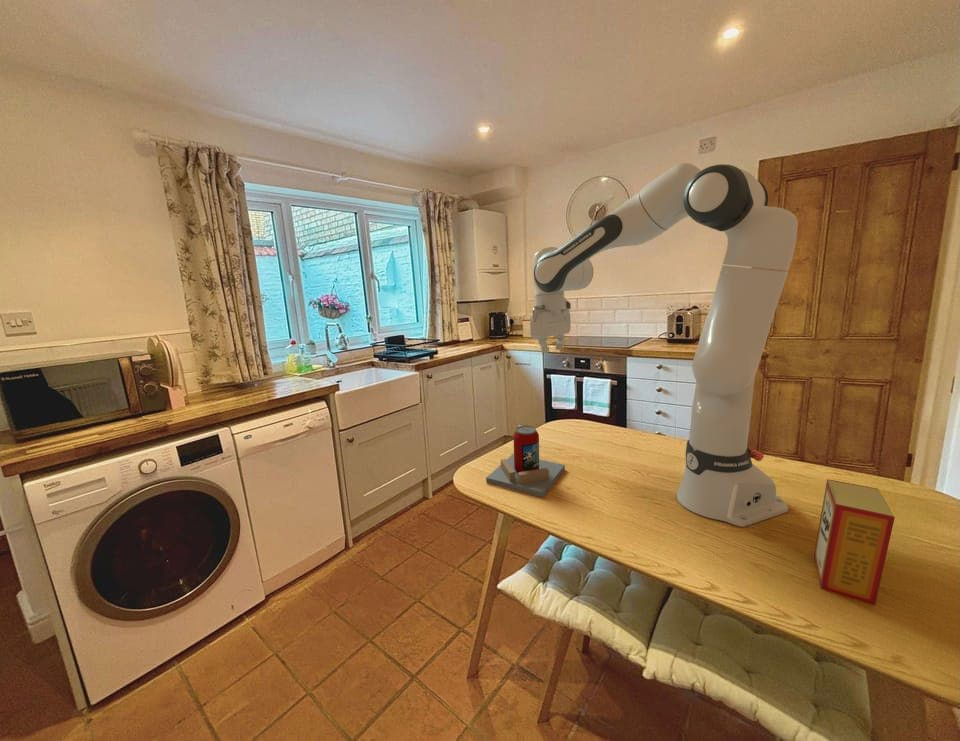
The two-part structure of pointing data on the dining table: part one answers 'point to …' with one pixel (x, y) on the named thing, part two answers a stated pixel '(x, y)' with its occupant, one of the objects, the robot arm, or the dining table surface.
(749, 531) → the dining table surface
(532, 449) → the beverage can
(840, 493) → the baking soda box
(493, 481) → the v stop plate
